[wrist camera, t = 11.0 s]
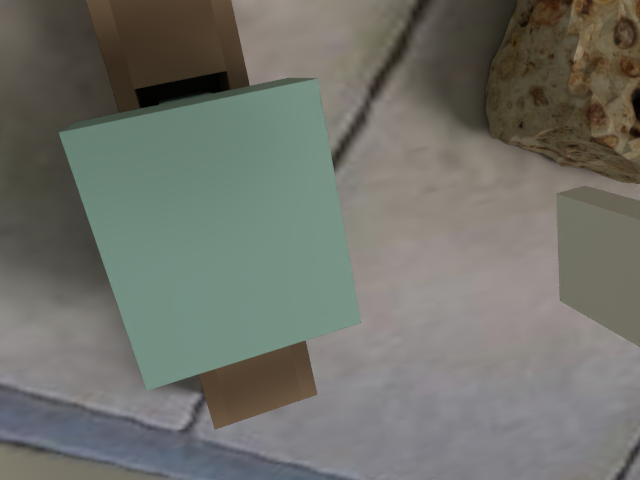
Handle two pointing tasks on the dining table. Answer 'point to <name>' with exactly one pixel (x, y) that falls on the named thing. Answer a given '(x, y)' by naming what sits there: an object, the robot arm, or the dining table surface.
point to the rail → (227, 60)
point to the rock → (571, 84)
